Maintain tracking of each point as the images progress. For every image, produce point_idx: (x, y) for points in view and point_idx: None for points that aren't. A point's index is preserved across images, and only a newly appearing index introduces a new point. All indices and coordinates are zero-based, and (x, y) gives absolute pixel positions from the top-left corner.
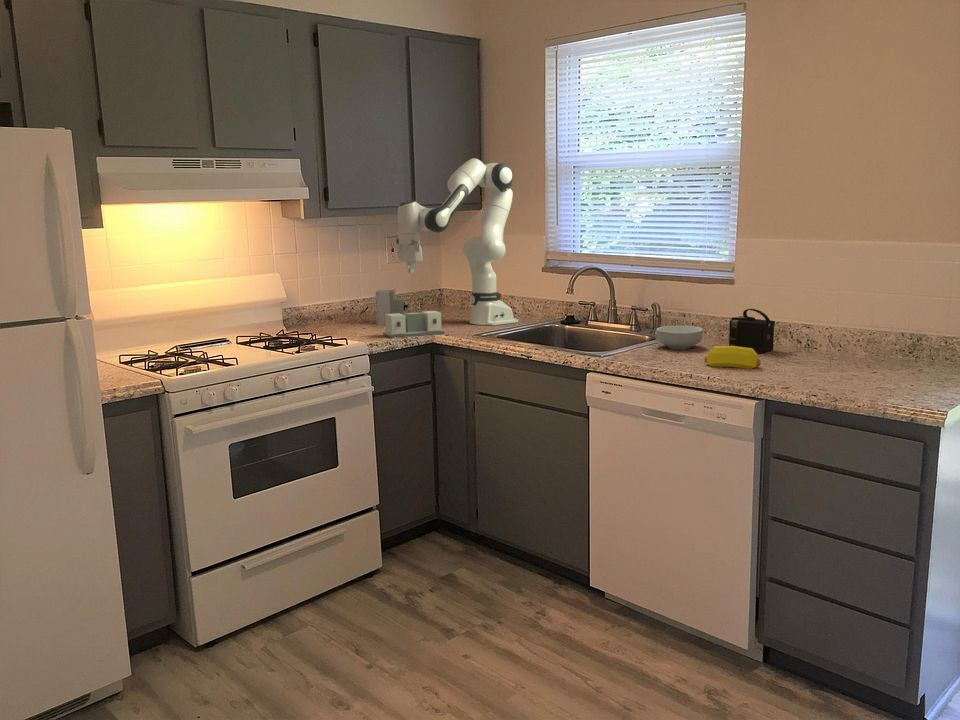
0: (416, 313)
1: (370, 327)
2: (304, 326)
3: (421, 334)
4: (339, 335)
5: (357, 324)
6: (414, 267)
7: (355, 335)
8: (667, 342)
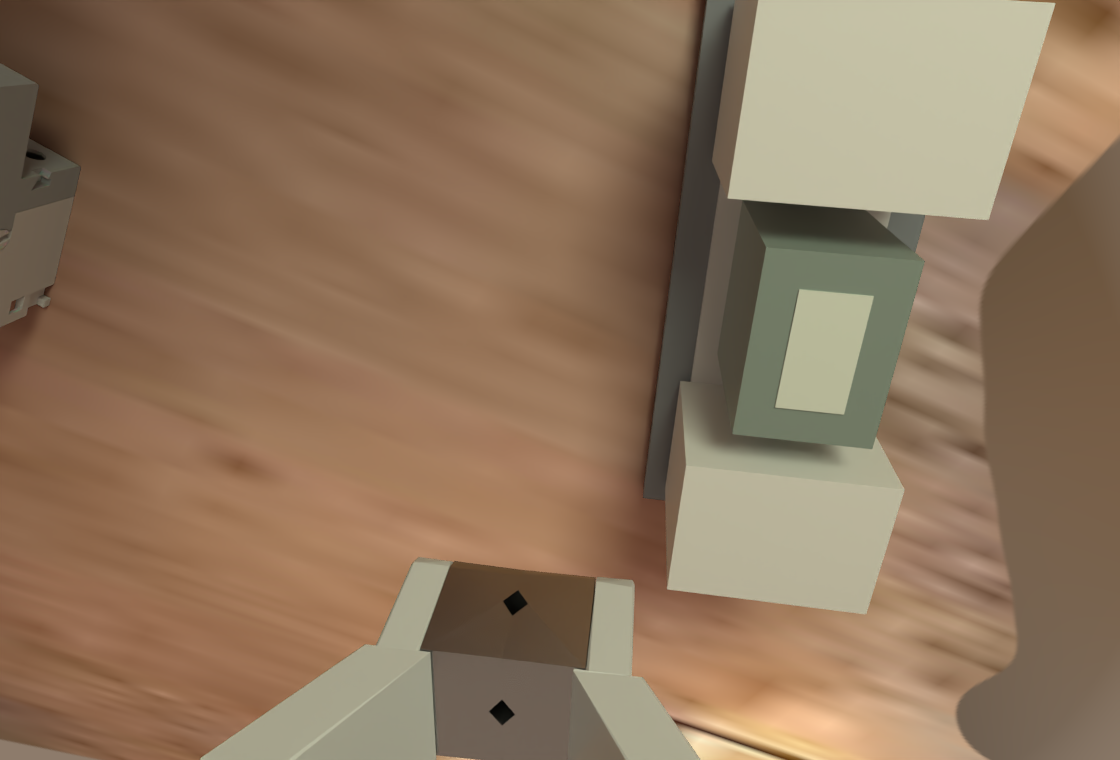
0: (864, 331)
1: (203, 408)
2: (5, 697)
3: None
4: None
5: (4, 423)
6: (668, 717)
7: None
8: None
